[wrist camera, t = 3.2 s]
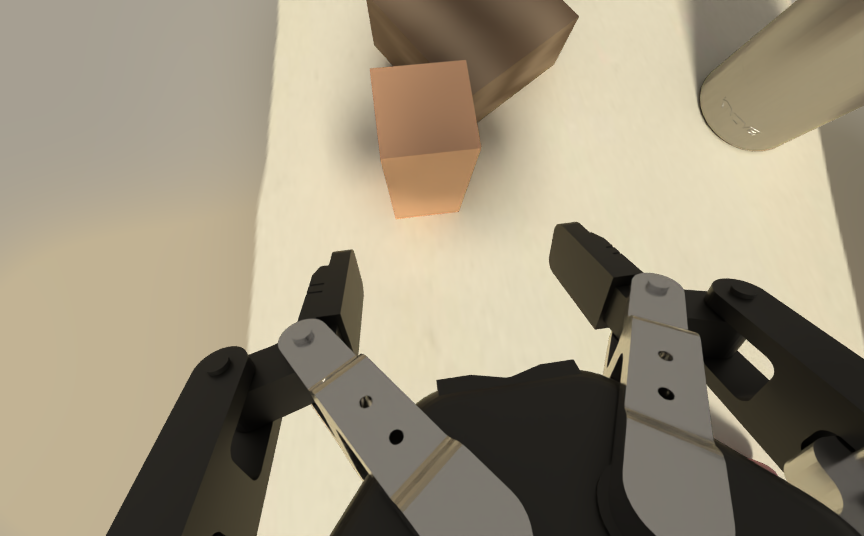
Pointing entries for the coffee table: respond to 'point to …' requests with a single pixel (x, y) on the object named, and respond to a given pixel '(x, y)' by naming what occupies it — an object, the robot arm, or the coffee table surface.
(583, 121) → the coffee table surface
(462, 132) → the peach block
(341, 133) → the coffee table surface
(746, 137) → the robot arm
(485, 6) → the walnut block
